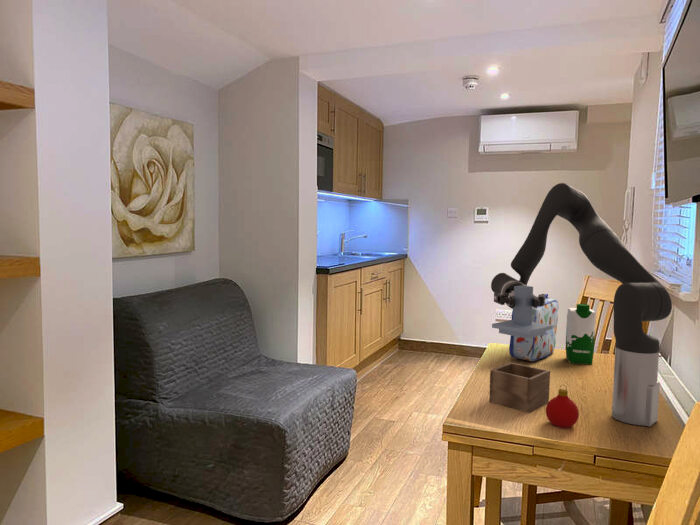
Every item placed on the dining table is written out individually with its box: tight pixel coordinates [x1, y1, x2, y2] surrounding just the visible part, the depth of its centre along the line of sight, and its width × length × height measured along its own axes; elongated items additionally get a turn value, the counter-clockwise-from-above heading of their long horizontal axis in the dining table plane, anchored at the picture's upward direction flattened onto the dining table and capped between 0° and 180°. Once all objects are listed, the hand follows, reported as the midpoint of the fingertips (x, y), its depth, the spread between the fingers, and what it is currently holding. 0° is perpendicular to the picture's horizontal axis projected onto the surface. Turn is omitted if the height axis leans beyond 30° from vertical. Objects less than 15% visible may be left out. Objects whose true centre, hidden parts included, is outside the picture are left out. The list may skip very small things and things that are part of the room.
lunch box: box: [508, 293, 559, 362], centre depth 185 cm, size 28×10×22 cm, turn 143°
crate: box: [488, 362, 551, 414], centre depth 135 cm, size 11×11×9 cm
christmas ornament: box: [545, 384, 580, 429], centre depth 121 cm, size 7×7×10 cm
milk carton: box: [565, 303, 597, 365], centre depth 179 cm, size 9×9×20 cm
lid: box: [491, 285, 553, 339], centre depth 136 cm, size 11×11×12 cm
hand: (524, 303), depth 133 cm, fingers closed on lid, 4 cm apart
